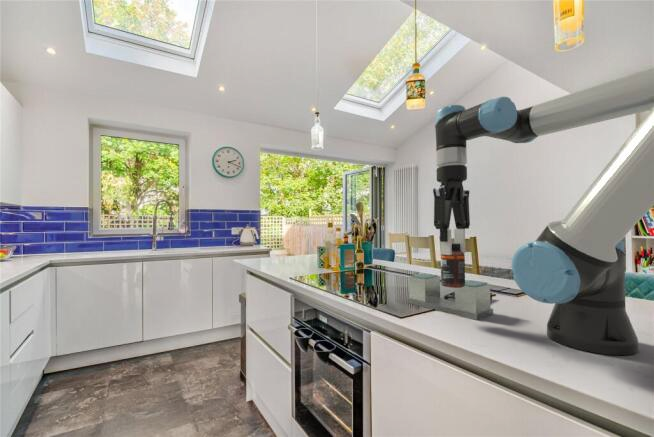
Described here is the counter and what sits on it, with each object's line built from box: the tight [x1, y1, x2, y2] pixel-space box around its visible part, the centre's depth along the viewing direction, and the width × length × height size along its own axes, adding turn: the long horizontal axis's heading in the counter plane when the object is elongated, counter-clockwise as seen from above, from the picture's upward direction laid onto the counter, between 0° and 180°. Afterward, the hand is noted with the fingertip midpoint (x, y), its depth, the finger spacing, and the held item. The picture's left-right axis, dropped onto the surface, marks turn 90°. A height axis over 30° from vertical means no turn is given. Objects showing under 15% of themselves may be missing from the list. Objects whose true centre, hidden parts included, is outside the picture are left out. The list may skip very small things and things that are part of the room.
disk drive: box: [443, 291, 493, 301], centre depth 104 cm, size 10×3×15 cm
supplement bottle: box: [440, 242, 466, 289], centre depth 83 cm, size 6×6×11 cm
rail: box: [406, 273, 494, 321], centre depth 95 cm, size 23×9×9 cm, turn 37°
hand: (453, 253), depth 83 cm, fingers closed on supplement bottle, 6 cm apart
